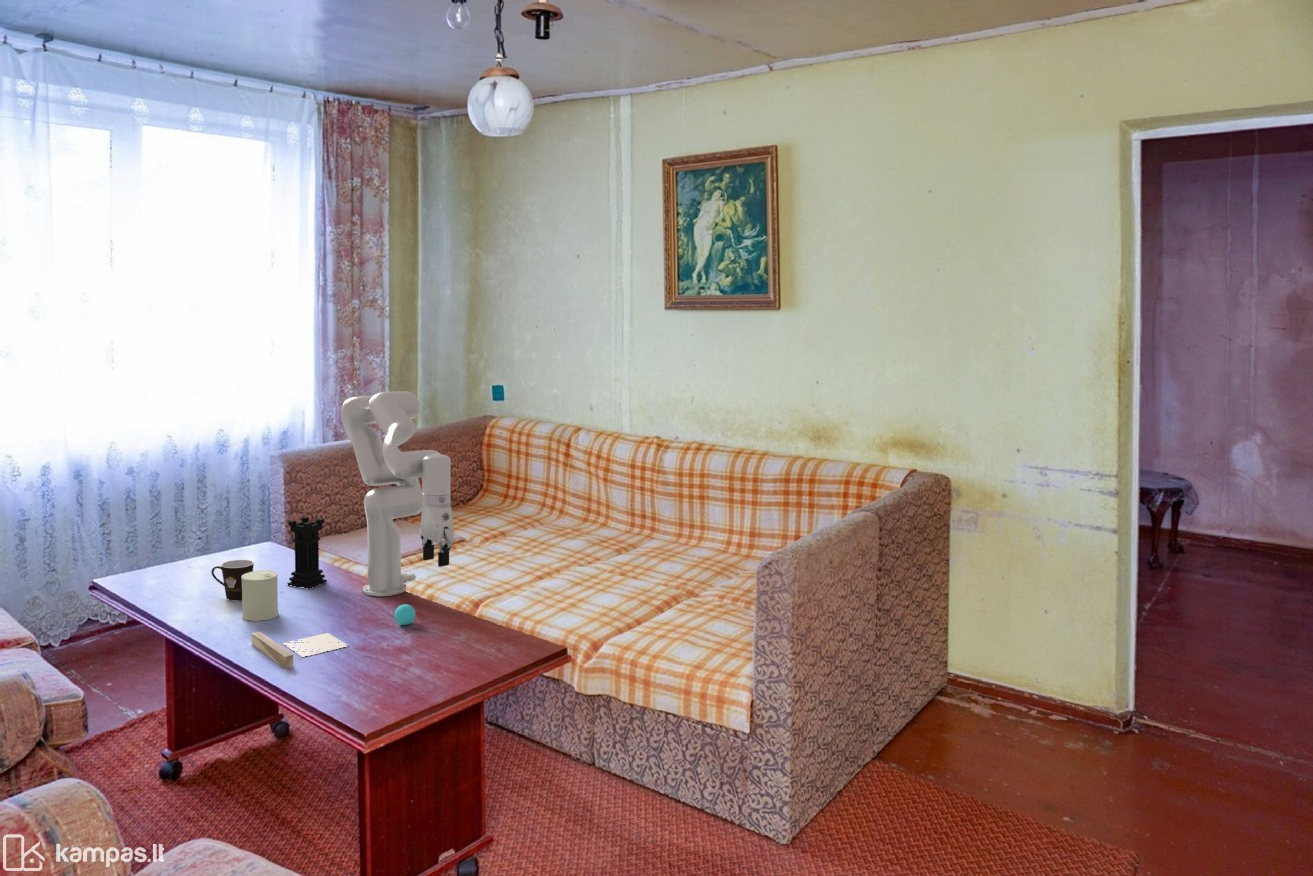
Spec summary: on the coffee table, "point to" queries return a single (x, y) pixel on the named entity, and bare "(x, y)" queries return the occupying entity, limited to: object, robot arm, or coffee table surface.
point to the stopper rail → (272, 650)
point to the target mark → (315, 644)
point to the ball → (404, 614)
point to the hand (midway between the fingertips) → (435, 562)
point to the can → (259, 595)
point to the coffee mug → (234, 577)
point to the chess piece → (306, 553)
